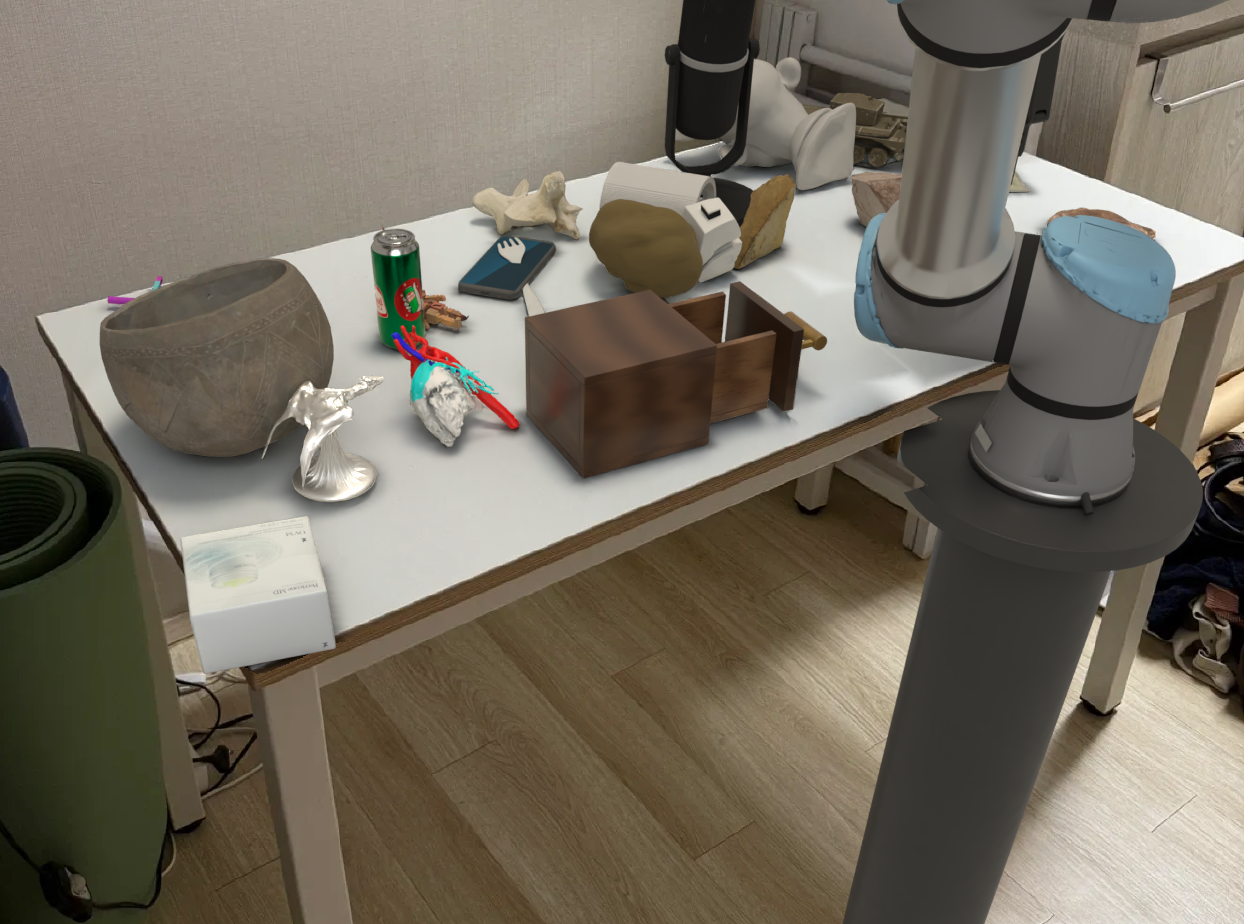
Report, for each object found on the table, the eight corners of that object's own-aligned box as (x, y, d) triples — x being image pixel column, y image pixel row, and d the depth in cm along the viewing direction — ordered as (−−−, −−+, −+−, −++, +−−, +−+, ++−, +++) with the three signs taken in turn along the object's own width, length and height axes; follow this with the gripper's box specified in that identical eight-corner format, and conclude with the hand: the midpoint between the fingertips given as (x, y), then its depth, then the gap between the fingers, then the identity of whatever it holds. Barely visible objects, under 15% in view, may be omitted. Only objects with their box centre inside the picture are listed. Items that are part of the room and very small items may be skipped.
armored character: (449, 349, 141) (375, 324, 144) (477, 320, 145) (405, 296, 148) (444, 253, 132) (366, 228, 135) (475, 225, 136) (398, 202, 139)
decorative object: (609, 215, 156) (592, 139, 157) (513, 219, 151) (496, 141, 152) (573, 260, 167) (557, 189, 168) (483, 265, 163) (467, 192, 164)
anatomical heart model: (463, 479, 132) (352, 380, 128) (513, 421, 133) (404, 321, 129) (489, 471, 119) (367, 361, 116) (543, 407, 120) (424, 296, 117)
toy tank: (778, 129, 192) (785, 60, 186) (928, 150, 185) (941, 79, 178) (758, 151, 185) (764, 80, 179) (913, 174, 178) (925, 100, 171)
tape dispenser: (677, 266, 155) (671, 202, 147) (726, 246, 156) (723, 181, 148) (698, 297, 152) (694, 233, 144) (748, 276, 153) (746, 211, 144)
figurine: (263, 488, 118) (247, 398, 112) (367, 440, 124) (357, 353, 118) (311, 524, 114) (297, 433, 108) (417, 473, 120) (409, 384, 114)
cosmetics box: (307, 510, 104) (328, 590, 97) (317, 571, 109) (338, 651, 101) (177, 533, 102) (188, 617, 95) (192, 594, 106) (204, 679, 99)
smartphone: (558, 249, 158) (558, 242, 158) (515, 301, 147) (515, 294, 147) (501, 240, 160) (501, 233, 160) (455, 291, 149) (454, 284, 149)
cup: (593, 212, 154) (687, 228, 151) (617, 146, 156) (710, 161, 152) (609, 250, 163) (698, 267, 159) (631, 188, 164) (719, 203, 161)
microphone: (734, 180, 176) (756, -60, 156) (778, 225, 164) (808, -28, 145) (625, 191, 173) (634, -53, 153) (663, 238, 161) (677, -19, 142)
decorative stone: (549, 242, 150) (591, 164, 148) (610, 277, 158) (651, 204, 156) (633, 294, 139) (680, 211, 137) (694, 329, 147) (739, 251, 145)
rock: (744, 264, 150) (816, 238, 153) (720, 193, 149) (792, 169, 152) (710, 284, 161) (777, 260, 163) (687, 218, 160) (755, 195, 162)
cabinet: (645, 384, 133) (650, 289, 126) (708, 444, 125) (717, 345, 118) (526, 414, 129) (524, 316, 122) (583, 478, 120) (584, 377, 113)
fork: (556, 324, 142) (558, 337, 143) (515, 223, 159) (518, 236, 160) (528, 330, 141) (530, 343, 143) (490, 228, 158) (493, 241, 160)
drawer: (773, 348, 138) (783, 271, 132) (836, 397, 130) (849, 318, 124) (628, 384, 132) (631, 305, 126) (685, 438, 124) (691, 356, 118)
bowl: (261, 485, 110) (195, 319, 104) (105, 487, 122) (36, 338, 115) (398, 390, 125) (348, 240, 118) (248, 400, 136) (194, 263, 129)
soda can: (380, 330, 142) (370, 227, 134) (425, 329, 142) (418, 225, 134) (379, 352, 138) (368, 247, 130) (426, 351, 138) (418, 246, 130)
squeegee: (91, 343, 138) (139, 346, 139) (90, 336, 138) (138, 340, 139) (118, 278, 150) (162, 281, 151) (118, 272, 149) (162, 275, 150)
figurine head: (881, 139, 181) (734, 51, 184) (896, 91, 167) (737, -2, 170) (810, 243, 180) (664, 153, 184) (819, 203, 167) (661, 108, 170)
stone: (823, 221, 167) (840, 193, 157) (858, 165, 167) (877, 133, 157) (920, 280, 166) (943, 256, 156) (955, 225, 167) (980, 197, 157)
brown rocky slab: (1129, 269, 155) (1138, 241, 153) (1029, 243, 161) (1036, 216, 159) (1158, 238, 162) (1167, 211, 160) (1061, 214, 168) (1068, 187, 166)
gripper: (1134, -49, 114) (1068, 200, 129) (989, -92, 128) (944, 138, 143) (1070, -42, 112) (1010, 212, 127) (929, -86, 126) (889, 147, 140)
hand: (975, 172), depth 135 cm, fingers closed on tennis ball, 7 cm apart
